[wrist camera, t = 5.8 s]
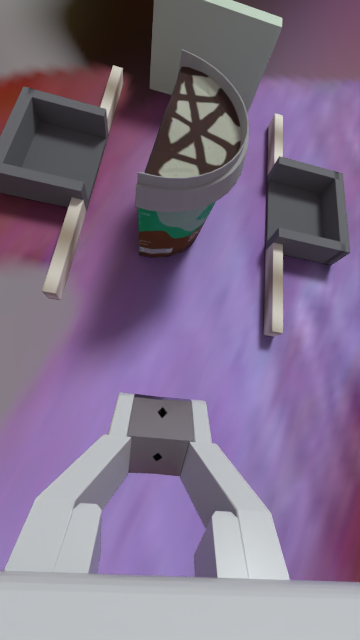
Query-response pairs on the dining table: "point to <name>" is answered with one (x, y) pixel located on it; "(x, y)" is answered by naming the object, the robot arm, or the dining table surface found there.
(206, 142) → the food container
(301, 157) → the dining table surface
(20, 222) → the dining table surface
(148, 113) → the dining table surface
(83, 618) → the robot arm
